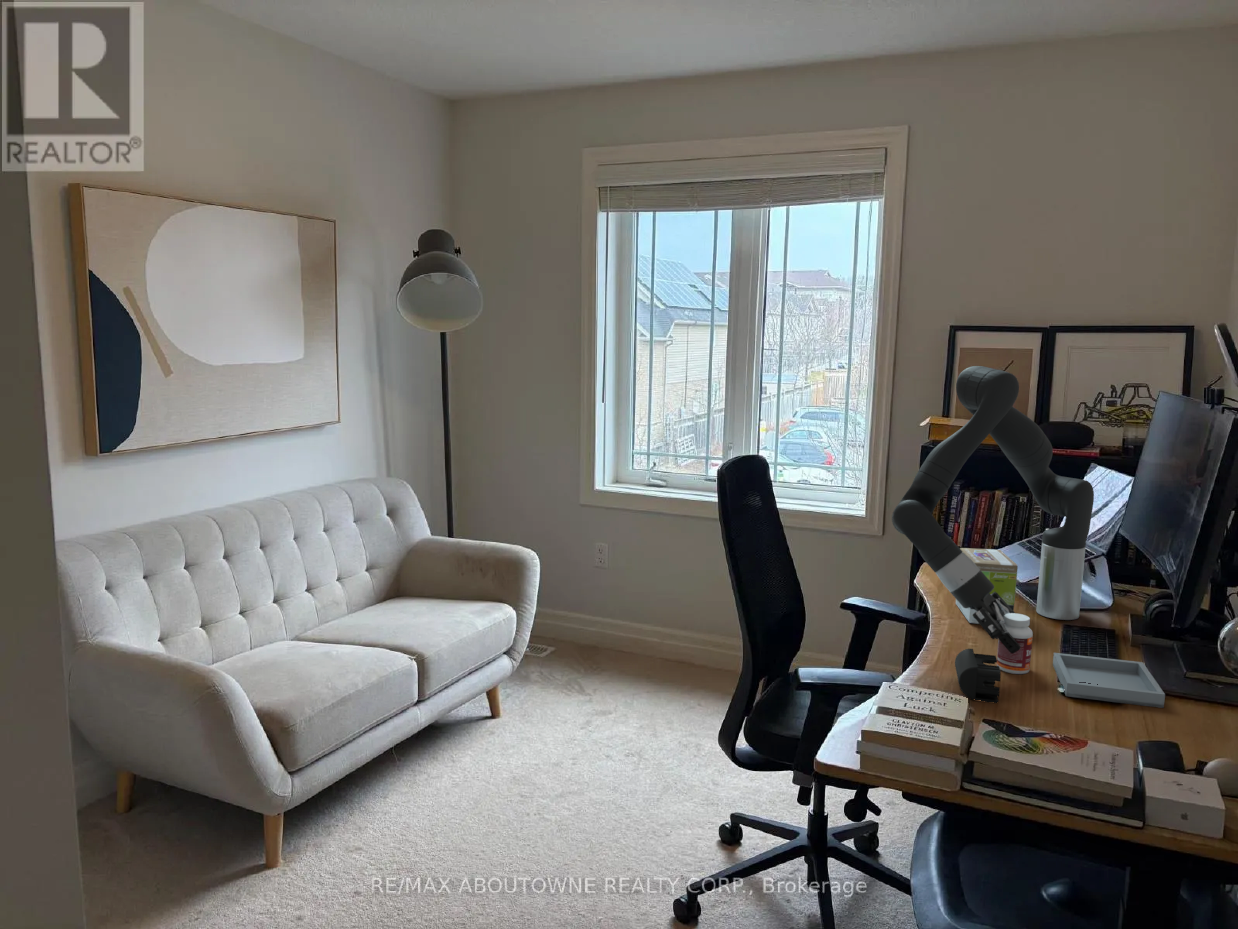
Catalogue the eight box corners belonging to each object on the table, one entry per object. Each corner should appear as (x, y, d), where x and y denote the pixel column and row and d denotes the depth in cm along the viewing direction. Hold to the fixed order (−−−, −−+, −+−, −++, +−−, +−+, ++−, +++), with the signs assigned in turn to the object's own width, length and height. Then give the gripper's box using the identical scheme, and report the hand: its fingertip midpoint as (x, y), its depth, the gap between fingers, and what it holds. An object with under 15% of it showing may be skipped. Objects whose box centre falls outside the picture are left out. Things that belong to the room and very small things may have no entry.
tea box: (1014, 626, 200) (1019, 564, 198) (968, 624, 202) (972, 562, 200) (996, 606, 215) (1001, 548, 213) (954, 604, 217) (958, 546, 214)
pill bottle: (1031, 677, 172) (1036, 623, 170) (998, 673, 174) (1002, 620, 172) (1027, 665, 178) (1031, 613, 176) (994, 661, 179) (998, 610, 178)
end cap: (953, 679, 171) (955, 646, 170) (992, 683, 169) (995, 650, 168) (957, 700, 161) (959, 665, 160) (998, 705, 159) (1001, 670, 158)
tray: (1052, 664, 178) (1053, 652, 177) (1141, 674, 173) (1142, 662, 173) (1066, 696, 163) (1067, 683, 162) (1163, 708, 158) (1165, 694, 158)
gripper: (971, 577, 171) (1030, 645, 166) (985, 561, 183) (1041, 624, 178) (941, 599, 175) (998, 665, 170) (957, 581, 186) (1011, 643, 182)
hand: (1020, 644), depth 174 cm, fingers open, 8 cm apart
